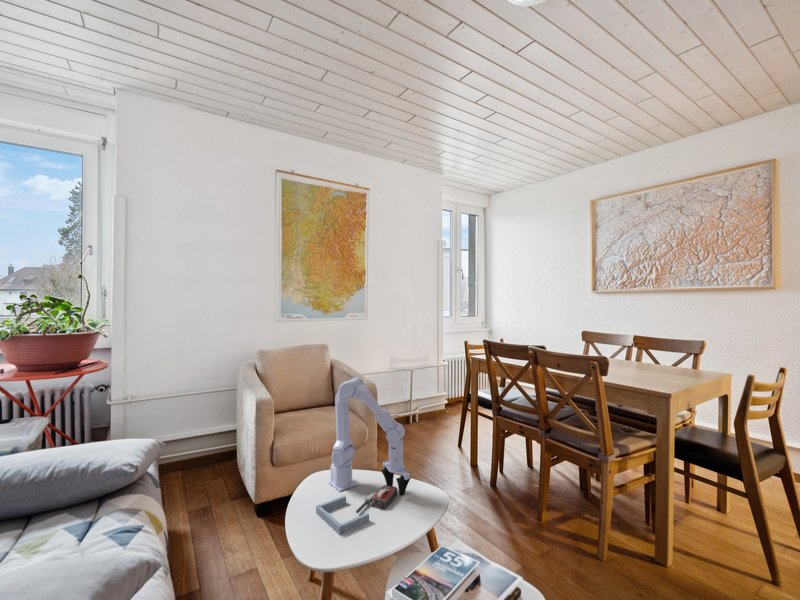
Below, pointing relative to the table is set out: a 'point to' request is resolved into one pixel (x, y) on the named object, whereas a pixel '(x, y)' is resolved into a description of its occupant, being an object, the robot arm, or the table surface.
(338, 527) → the grey pronged cradle
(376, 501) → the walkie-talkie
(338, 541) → the table surface
